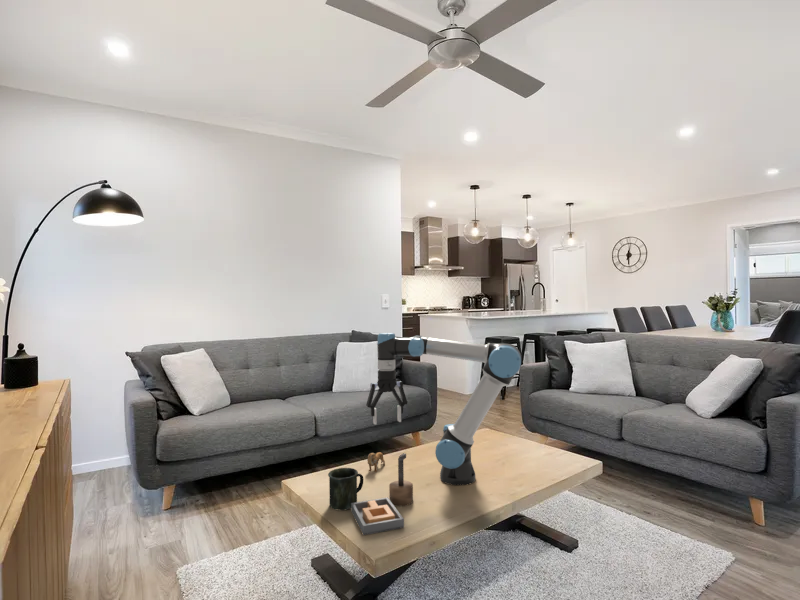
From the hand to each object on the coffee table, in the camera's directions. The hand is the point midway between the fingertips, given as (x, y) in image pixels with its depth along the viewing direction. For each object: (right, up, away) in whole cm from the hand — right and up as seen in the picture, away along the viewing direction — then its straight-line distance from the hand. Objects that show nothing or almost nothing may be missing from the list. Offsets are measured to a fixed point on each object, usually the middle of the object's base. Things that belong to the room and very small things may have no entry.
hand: (387, 422), depth 185 cm
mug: (-15, -26, -18) cm, 35 cm away
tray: (-3, -25, -31) cm, 40 cm away
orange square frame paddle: (-3, -25, -31) cm, 40 cm away
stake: (+6, -25, -17) cm, 31 cm away
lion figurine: (-5, -26, +17) cm, 32 cm away
